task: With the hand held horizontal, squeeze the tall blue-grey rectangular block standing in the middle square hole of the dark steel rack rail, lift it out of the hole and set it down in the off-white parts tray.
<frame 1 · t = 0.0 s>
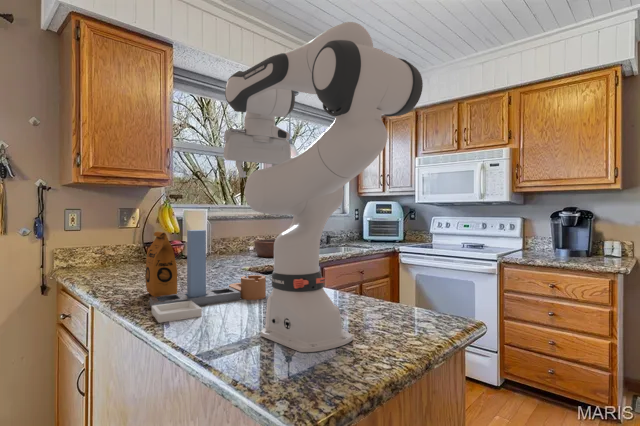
hand: (257, 178, 108), 39 cm above the table, tool pointing down, fingers open, 8 cm apart
tray: (176, 314, 102), on the table
wooden bowl: (273, 256, 242), on the table
rail: (196, 302, 116), on the table
bracket: (246, 295, 127), on the table
coffee package: (161, 295, 127), on the table
blue-grey rectangular block: (196, 266, 116), in the rail
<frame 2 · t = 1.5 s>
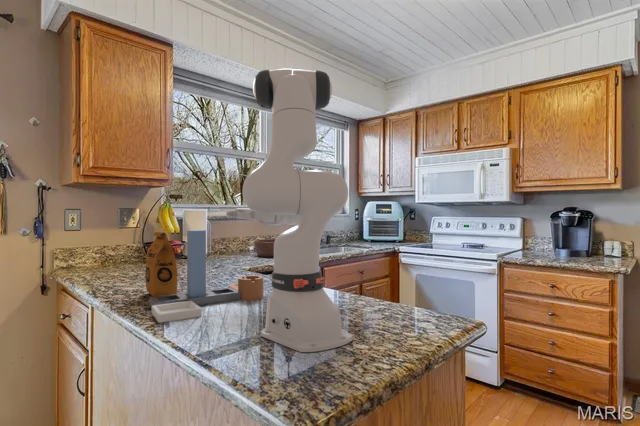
hand: (232, 214, 122), 28 cm above the table, tool horizontal, fingers open, 8 cm apart
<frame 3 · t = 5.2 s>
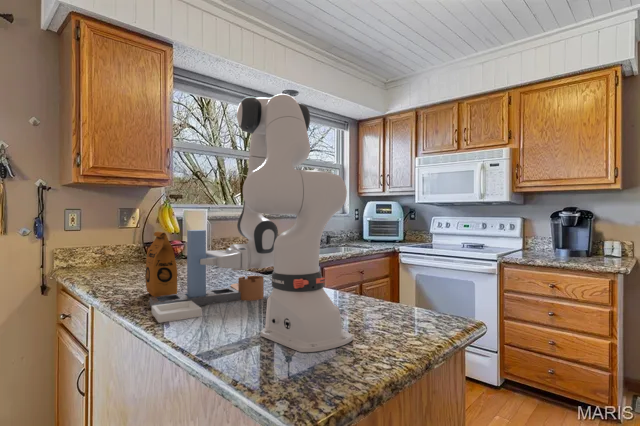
hand: (195, 260, 115), 13 cm above the table, tool horizontal, fingers open, 8 cm apart
nothing on the table moved.
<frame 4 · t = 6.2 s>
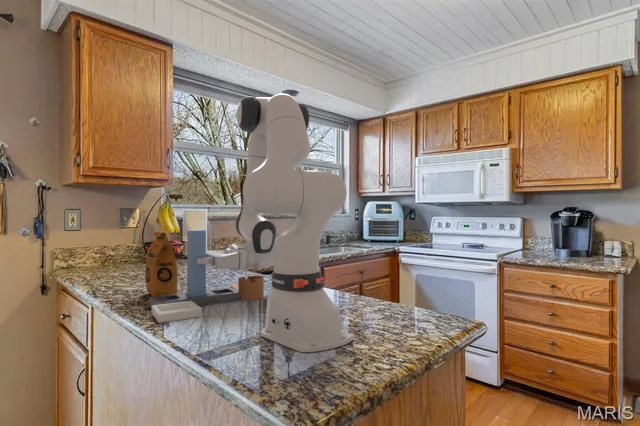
hand: (193, 260, 115), 14 cm above the table, tool horizontal, fingers closed on blue-grey rectangular block, 5 cm apart
blue-grey rectangular block: (196, 266, 116), in the rail, touching gripper
everything else where it was.
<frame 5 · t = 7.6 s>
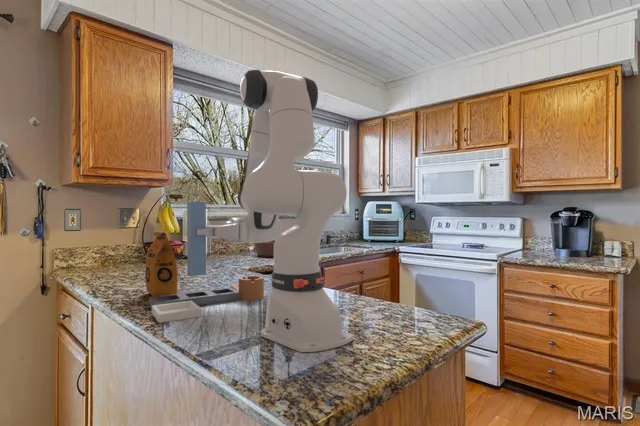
hand: (193, 231, 115), 22 cm above the table, tool horizontal, fingers closed on blue-grey rectangular block, 5 cm apart
blue-grey rectangular block: (196, 238, 115), point 20 cm above the table, touching gripper
everything else where it was.
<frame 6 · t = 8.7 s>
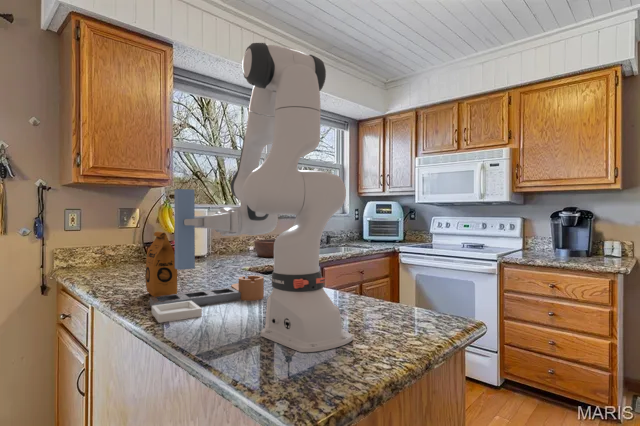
hand: (181, 222, 106), 26 cm above the table, tool horizontal, fingers closed on blue-grey rectangular block, 5 cm apart
bracket: (247, 295, 127), on the table, touching rail
blue-grey rectangular block: (184, 229, 106), point 24 cm above the table, touching gripper
everything else where it was.
when the fingers open (15 cm above the table, at t = 11.7 s): blue-grey rectangular block stays where it is, resting on tray.
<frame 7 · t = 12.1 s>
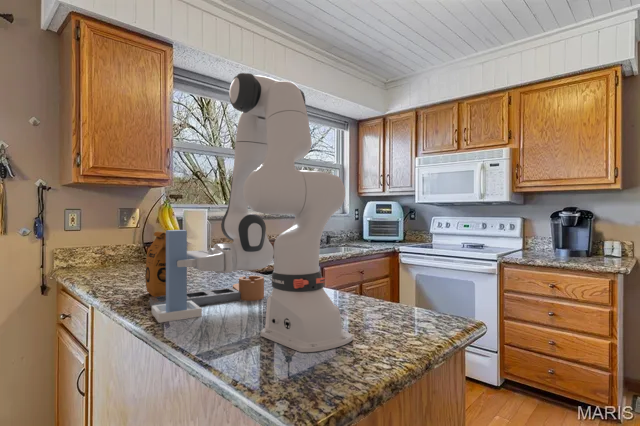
hand: (172, 261, 101), 15 cm above the table, tool horizontal, fingers open, 8 cm apart
bracket: (247, 295, 126), on the table
blue-grey rectangular block: (176, 271, 102), in the tray, point 12 cm above the table
everything else where it was.
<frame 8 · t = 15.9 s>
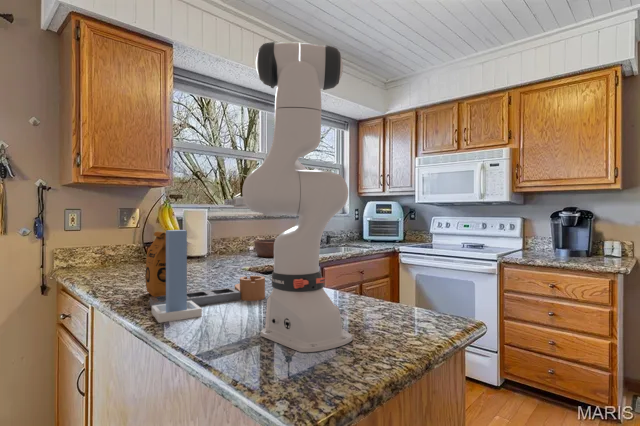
hand: (229, 201, 113), 32 cm above the table, tool horizontal, fingers open, 8 cm apart
nothing on the table moved.
at the end: blue-grey rectangular block inside the target area on the tray (0.0 cm from its centre), point 12.1 cm above the tray's base; blue-grey rectangular block touching tray; the gripper is holding nothing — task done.
